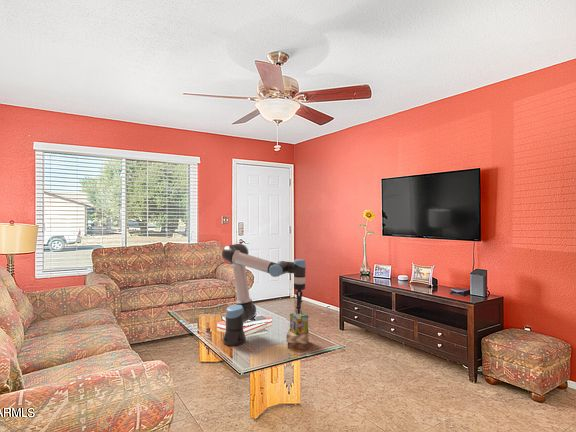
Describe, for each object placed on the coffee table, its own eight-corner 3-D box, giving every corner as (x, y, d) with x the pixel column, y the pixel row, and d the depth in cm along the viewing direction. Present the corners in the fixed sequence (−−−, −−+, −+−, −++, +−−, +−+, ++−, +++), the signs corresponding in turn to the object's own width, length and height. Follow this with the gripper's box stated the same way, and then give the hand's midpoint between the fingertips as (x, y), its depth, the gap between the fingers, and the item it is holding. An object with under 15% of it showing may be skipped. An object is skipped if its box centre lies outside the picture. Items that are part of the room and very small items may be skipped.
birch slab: (286, 342, 226) (286, 335, 226) (289, 335, 238) (289, 328, 238) (306, 343, 224) (306, 336, 224) (308, 336, 236) (308, 329, 236)
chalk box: (297, 335, 225) (297, 312, 225) (289, 331, 233) (289, 308, 233) (308, 332, 230) (308, 310, 230) (300, 328, 238) (301, 306, 238)
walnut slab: (287, 349, 226) (287, 342, 225) (289, 341, 238) (289, 335, 238) (307, 350, 224) (307, 343, 224) (308, 342, 237) (308, 335, 237)
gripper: (304, 287, 219) (304, 321, 219) (305, 279, 244) (305, 310, 244) (292, 286, 219) (292, 320, 220) (294, 279, 244) (294, 309, 245)
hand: (298, 315), depth 232 cm, fingers open, 13 cm apart
